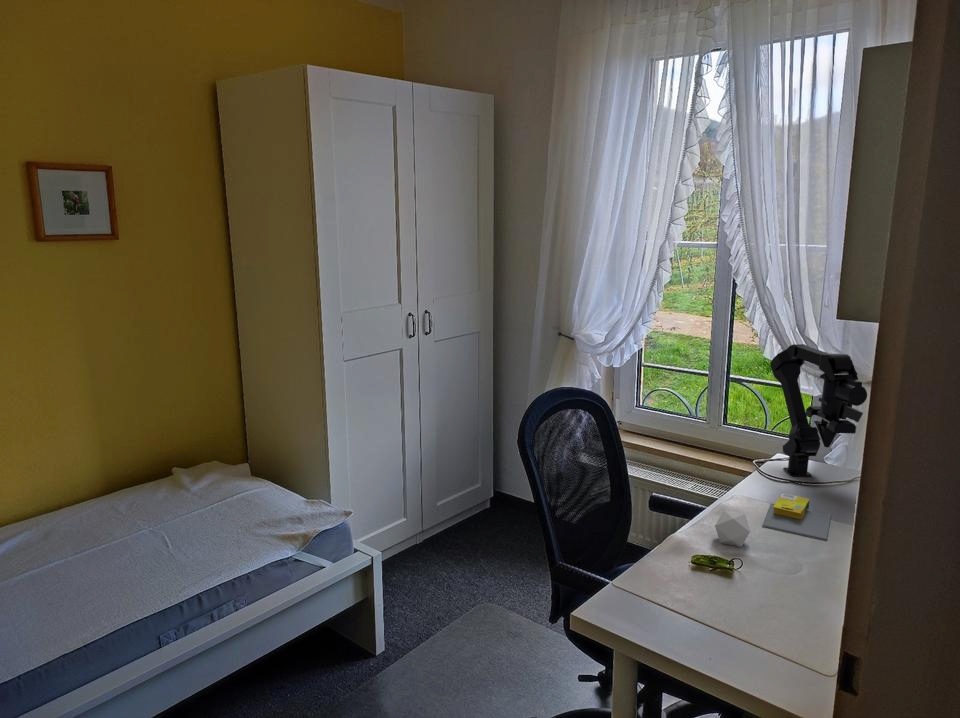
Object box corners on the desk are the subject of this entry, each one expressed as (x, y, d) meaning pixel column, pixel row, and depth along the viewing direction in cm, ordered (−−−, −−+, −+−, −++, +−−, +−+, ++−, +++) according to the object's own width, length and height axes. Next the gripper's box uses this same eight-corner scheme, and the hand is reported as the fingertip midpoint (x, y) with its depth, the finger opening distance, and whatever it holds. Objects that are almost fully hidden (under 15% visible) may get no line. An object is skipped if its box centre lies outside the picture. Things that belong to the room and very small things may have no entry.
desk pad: (770, 504, 196) (770, 503, 196) (830, 517, 188) (830, 515, 188) (762, 526, 182) (762, 524, 182) (826, 540, 175) (826, 538, 175)
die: (751, 541, 175) (734, 505, 178) (762, 540, 167) (743, 502, 170) (721, 553, 175) (704, 517, 178) (731, 552, 167) (712, 514, 170)
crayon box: (781, 502, 197) (770, 515, 188) (782, 492, 196) (771, 505, 187) (809, 508, 192) (799, 523, 183) (810, 498, 192) (800, 512, 183)
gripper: (878, 405, 193) (870, 458, 197) (844, 388, 212) (838, 437, 215) (838, 405, 193) (831, 457, 197) (807, 388, 212) (802, 436, 215)
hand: (826, 447), depth 206 cm, fingers closed
